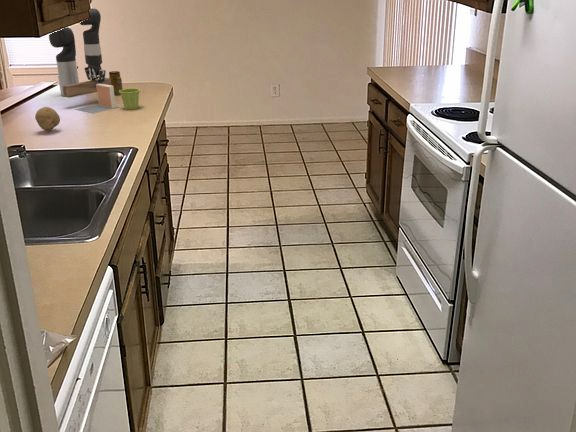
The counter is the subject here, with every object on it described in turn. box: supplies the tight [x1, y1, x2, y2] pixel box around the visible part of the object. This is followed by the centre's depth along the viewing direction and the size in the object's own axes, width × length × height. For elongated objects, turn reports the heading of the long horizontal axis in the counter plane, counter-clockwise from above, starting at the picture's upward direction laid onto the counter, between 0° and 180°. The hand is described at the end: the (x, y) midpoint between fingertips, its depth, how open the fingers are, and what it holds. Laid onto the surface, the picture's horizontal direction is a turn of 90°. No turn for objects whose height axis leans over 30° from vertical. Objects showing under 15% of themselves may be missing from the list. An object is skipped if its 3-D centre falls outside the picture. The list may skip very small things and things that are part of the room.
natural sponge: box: [35, 106, 61, 133], centre depth 248 cm, size 9×9×10 cm
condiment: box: [108, 70, 124, 97], centre depth 310 cm, size 7×8×12 cm
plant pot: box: [119, 87, 141, 110], centre depth 282 cm, size 9×9×9 cm
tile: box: [96, 84, 117, 109], centre depth 285 cm, size 10×2×10 cm, turn 53°
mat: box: [74, 103, 120, 114], centre depth 284 cm, size 14×15×1 cm
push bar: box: [63, 77, 111, 99], centre depth 291 cm, size 4×24×5 cm, turn 142°
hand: (97, 89), depth 295 cm, fingers closed on push bar, 3 cm apart
